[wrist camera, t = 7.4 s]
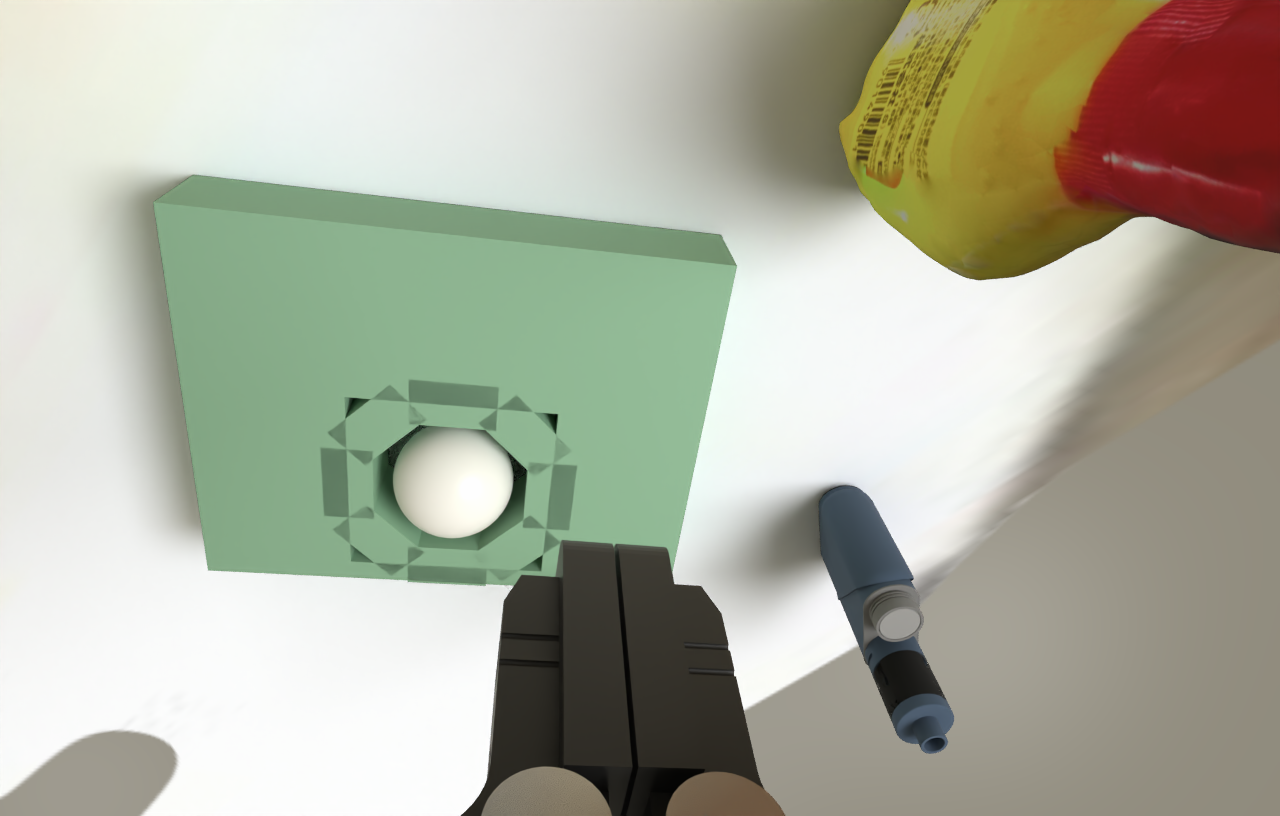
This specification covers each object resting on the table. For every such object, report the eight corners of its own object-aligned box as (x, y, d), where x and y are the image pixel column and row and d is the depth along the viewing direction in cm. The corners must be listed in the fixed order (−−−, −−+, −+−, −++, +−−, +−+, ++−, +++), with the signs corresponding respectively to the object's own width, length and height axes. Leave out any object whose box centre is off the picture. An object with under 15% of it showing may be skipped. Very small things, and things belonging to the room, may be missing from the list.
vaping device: (818, 566, 43) (900, 770, 33) (815, 485, 40) (903, 680, 30) (867, 558, 43) (965, 759, 33) (867, 476, 40) (974, 668, 30)
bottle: (983, -178, 27) (1726, -356, 10) (1121, -74, 29) (1948, -70, 12) (788, 155, 32) (1054, 424, 15) (917, 225, 34) (1286, 536, 17)
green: (193, 174, 30) (-92, 369, 17) (720, 235, 33) (828, 442, 20) (235, 521, 38) (63, 839, 25) (659, 545, 41) (707, 842, 28)
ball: (397, 524, 37) (407, 414, 37) (509, 531, 38) (518, 423, 38) (377, 543, 32) (388, 416, 32) (506, 551, 33) (517, 427, 33)
